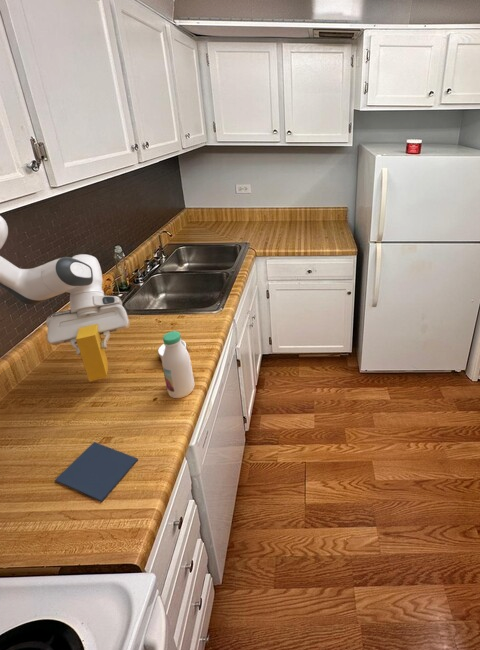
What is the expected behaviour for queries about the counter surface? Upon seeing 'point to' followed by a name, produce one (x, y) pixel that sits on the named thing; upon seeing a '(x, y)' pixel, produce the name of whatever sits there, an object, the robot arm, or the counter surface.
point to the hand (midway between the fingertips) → (92, 351)
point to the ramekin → (162, 348)
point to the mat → (97, 471)
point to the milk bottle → (177, 366)
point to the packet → (92, 352)
